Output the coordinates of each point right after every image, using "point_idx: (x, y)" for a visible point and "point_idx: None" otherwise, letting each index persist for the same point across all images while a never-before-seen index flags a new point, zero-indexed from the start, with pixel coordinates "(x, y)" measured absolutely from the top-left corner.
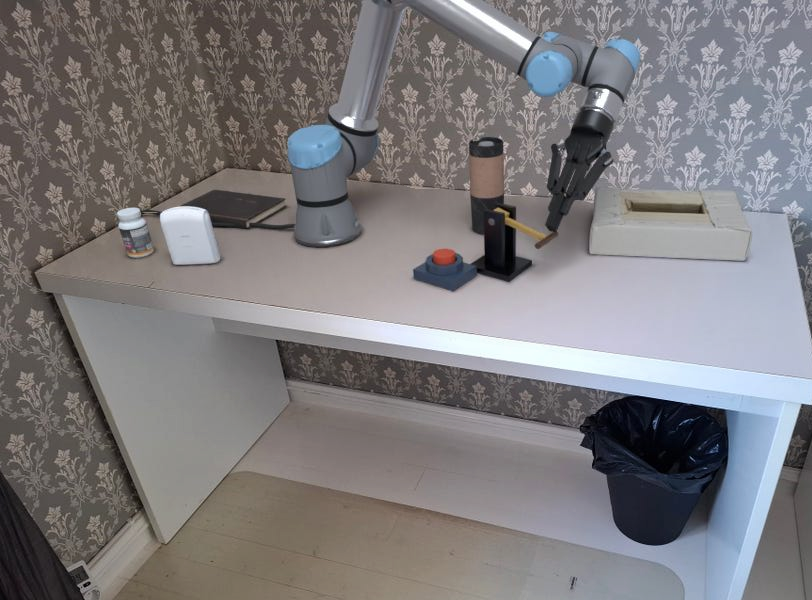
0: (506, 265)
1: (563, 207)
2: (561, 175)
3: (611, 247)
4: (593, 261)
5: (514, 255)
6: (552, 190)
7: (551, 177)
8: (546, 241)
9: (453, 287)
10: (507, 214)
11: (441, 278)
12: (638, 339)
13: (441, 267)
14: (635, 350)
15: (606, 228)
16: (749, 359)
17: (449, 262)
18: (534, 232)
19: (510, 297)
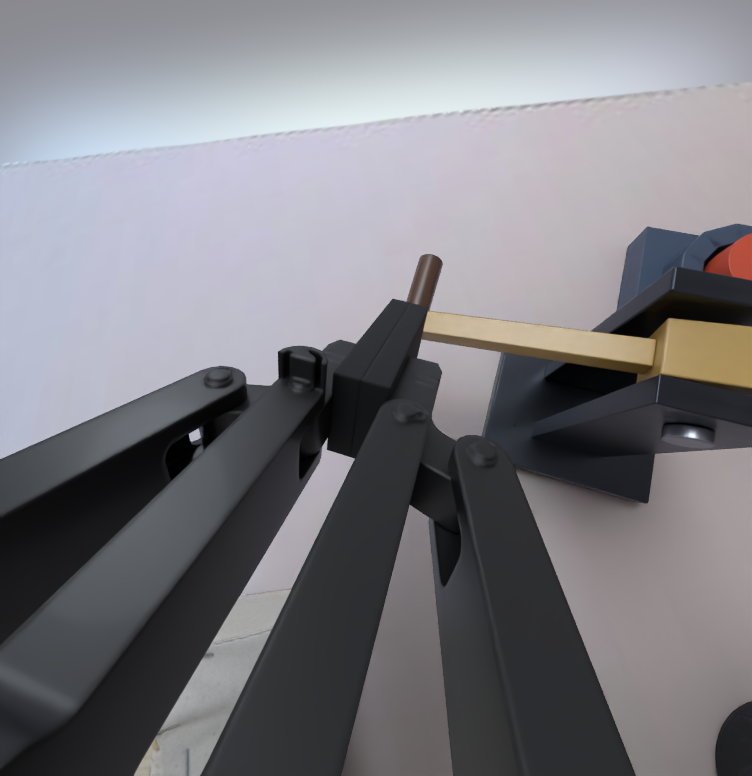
0: (546, 394)
1: (344, 355)
2: (381, 537)
3: (243, 602)
4: (303, 533)
5: (540, 426)
6: (447, 447)
7: (503, 536)
8: (407, 298)
9: (634, 241)
10: (661, 352)
11: (690, 235)
12: (182, 191)
13: (721, 228)
14: (187, 158)
15: (229, 631)
16: (12, 193)
17: (716, 256)
18: (470, 318)
19: (471, 262)
